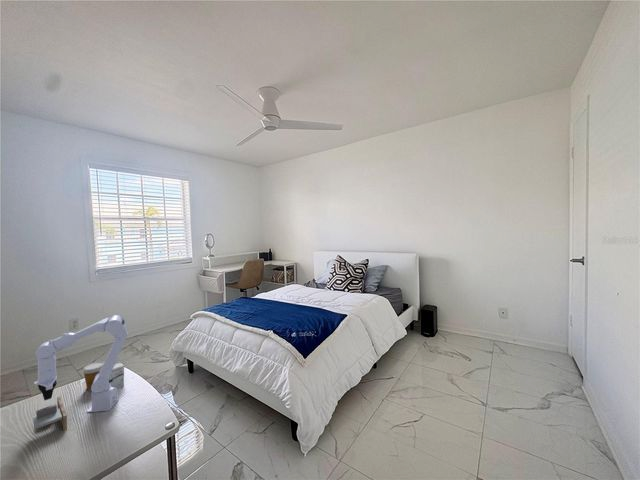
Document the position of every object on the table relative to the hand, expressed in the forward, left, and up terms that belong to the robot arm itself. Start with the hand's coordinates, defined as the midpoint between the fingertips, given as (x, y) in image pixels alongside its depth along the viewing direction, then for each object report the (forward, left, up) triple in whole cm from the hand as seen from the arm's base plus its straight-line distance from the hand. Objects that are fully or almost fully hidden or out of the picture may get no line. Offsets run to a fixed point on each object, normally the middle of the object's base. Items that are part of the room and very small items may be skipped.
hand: (47, 398), depth 117 cm
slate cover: (-5, +7, -5) cm, 10 cm away
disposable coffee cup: (-2, -26, -11) cm, 28 cm away
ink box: (-13, -24, -11) cm, 29 cm away
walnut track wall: (-5, -1, -10) cm, 12 cm away
